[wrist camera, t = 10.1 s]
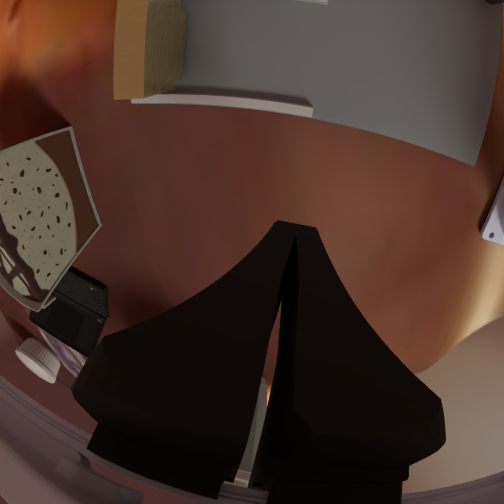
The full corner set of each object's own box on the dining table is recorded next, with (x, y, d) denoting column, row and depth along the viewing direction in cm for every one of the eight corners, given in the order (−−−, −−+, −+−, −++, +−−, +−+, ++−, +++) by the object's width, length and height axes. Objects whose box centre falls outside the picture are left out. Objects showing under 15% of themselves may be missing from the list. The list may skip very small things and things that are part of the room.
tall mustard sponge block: (188, 3, 10) (149, -10, 7) (182, 87, 13) (143, 98, 10) (135, 10, 11) (90, 5, 8) (132, 89, 14) (88, 101, 11)
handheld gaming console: (95, 281, 26) (64, 366, 24) (126, 291, 33) (98, 363, 31) (33, 241, 28) (7, 314, 26) (66, 256, 35) (41, 320, 32)
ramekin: (69, 363, 49) (57, 382, 45) (59, 369, 55) (49, 385, 51) (29, 328, 45) (16, 346, 41) (24, 338, 51) (13, 354, 47)
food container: (28, 126, 19) (-57, 175, 11) (68, 108, 17) (-35, 159, 9) (65, 238, 26) (5, 304, 18) (107, 239, 24) (41, 317, 17)
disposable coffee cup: (196, 380, 37) (161, 477, 25) (207, 341, 30) (160, 469, 19) (269, 403, 37) (247, 501, 25) (299, 370, 30) (277, 499, 19)
